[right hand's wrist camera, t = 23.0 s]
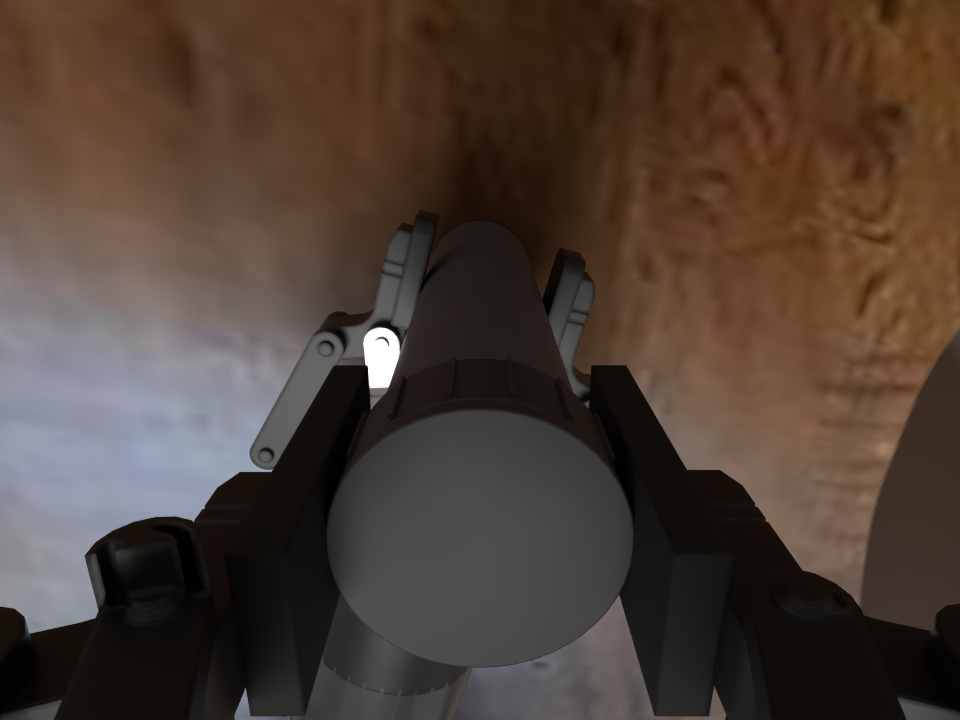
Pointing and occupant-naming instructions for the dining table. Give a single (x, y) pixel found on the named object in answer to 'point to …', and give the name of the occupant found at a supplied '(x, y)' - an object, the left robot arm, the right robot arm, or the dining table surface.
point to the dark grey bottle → (479, 306)
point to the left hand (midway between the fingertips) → (499, 237)
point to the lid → (479, 516)
